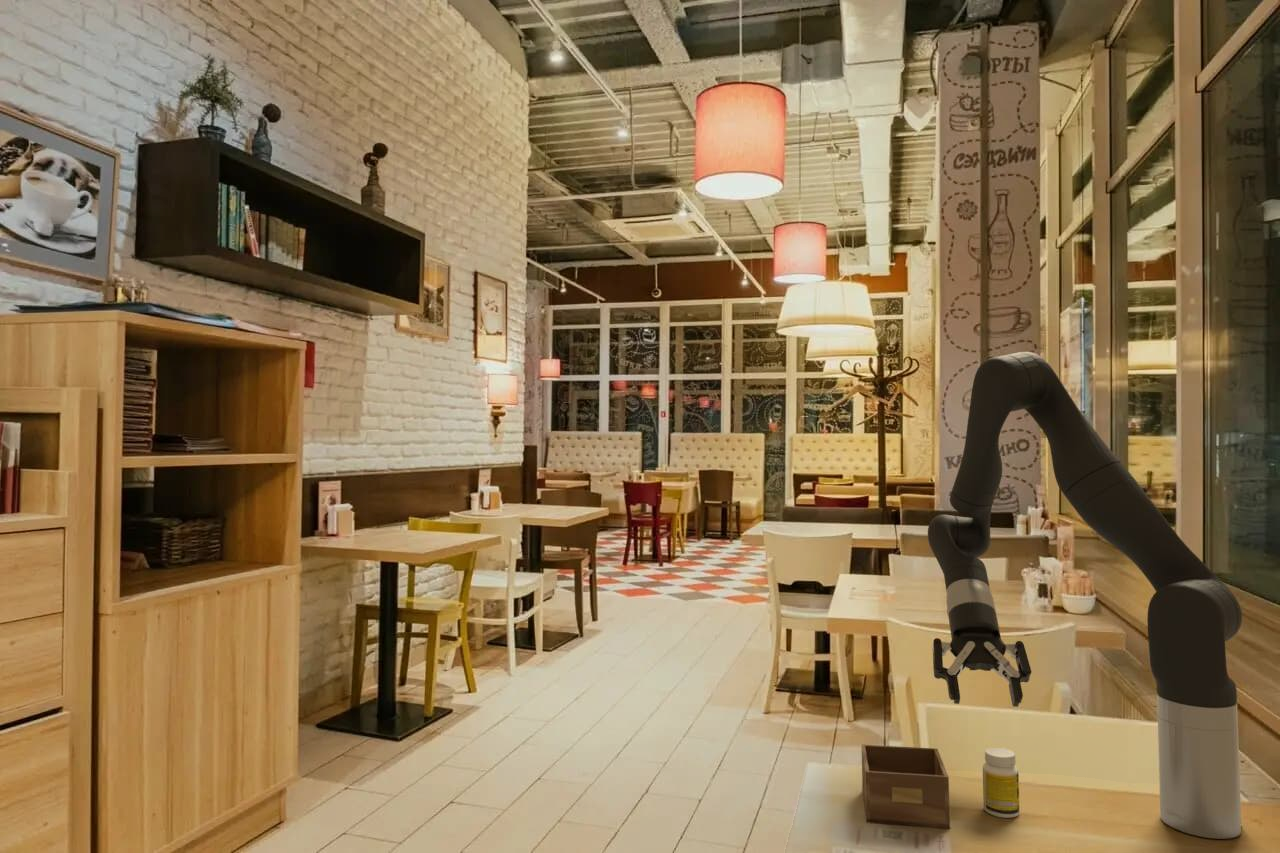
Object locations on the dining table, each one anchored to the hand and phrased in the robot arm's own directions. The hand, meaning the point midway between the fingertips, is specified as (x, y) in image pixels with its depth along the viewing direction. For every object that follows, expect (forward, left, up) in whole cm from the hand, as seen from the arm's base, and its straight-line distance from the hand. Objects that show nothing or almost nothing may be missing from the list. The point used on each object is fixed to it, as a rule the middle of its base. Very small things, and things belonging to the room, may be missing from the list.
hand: (986, 702), depth 130 cm
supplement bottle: (+6, +7, -13) cm, 16 cm away
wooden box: (+17, -1, -13) cm, 21 cm away
